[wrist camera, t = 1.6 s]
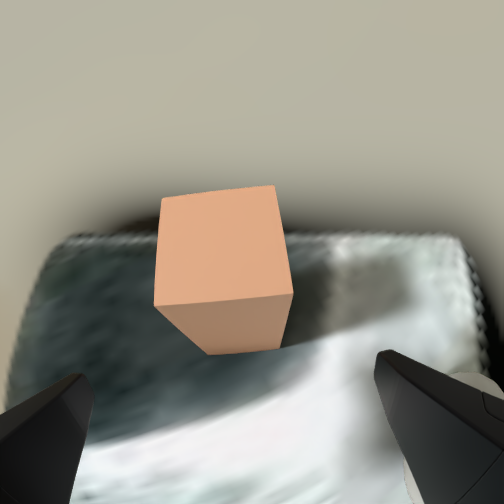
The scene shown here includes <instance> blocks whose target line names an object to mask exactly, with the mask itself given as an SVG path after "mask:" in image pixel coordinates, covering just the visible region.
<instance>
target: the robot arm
mask: <svg viewBox="0 0 504 504" xmlns="http://www.w3.org/2000/svg"><path fill="white" fill-rule="evenodd" d="M374 380H375V383H376V386H377V389H378V392H379V395H380V398H381V401H382V404H383V407H384V410H385V413H386V416H387V419H388V421H389V424H390V426H391V428H392V430H393V433H394V435H395V437H396V439H397V441H398V444H399V446H400V448H401V450H402V452H403V455H404V457H405V459H406V462H407V464H408V466H409V468H410V471H411V473H412V476H413V478H414V480H415V483H416V485H417V487H418V490H419V492H420V495H421V497H422V500H423V502H424V504H504V400H503V399H501V398H498V397H496V396H493V395H491V394H488V393H486V392H484V391H482V392H481V390H479V389H477V388H475V387H472V386H470V385H468V384H465V383H463V382H461V381H459V380H457V379H454V378H452V377H450V376H448V375H445V374H443V373H441V372H439V371H437V370H434V369H432V368H430V367H428V366H426V365H424V364H421V363H419V362H417V361H415V360H413V359H411V358H409V357H406V356H404V355H402V354H400V353H398V352H396V351H394V350H391V349H389V350H385V351H380V352H379V353H378V354H377V357H376V363H375V369H374ZM93 403H94V392H93V390H92V388H91V386H90V384H89V382H88V380H87V378H86V376H85V375H84V374H82V373H71V374H70V375H68V376H66V377H64V378H63V379H61V380H59V381H58V382H56V383H54V384H53V385H51V386H49V387H47V388H46V389H44V390H42V391H41V392H39V393H37V394H35V395H34V396H32V397H30V398H29V399H27V400H25V401H23V402H22V403H20V404H18V405H16V406H15V407H13V408H11V409H10V410H8V411H6V412H4V413H3V414H1V415H0V504H69V502H70V498H71V493H72V489H73V485H74V481H75V477H76V473H77V469H78V465H79V462H80V458H81V454H82V451H83V447H84V444H85V441H86V437H87V432H88V428H89V422H90V417H91V413H92V408H93Z"/></svg>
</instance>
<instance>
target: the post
mask: <svg viewBox="0 0 504 504" xmlns="http://www.w3.org/2000/svg"><path fill="white" fill-rule="evenodd" d="M292 298H293V287H292V280H291V274H290V269H289V263H288V257H287V251H286V245H285V240H284V234H283V229H282V223H281V218H280V212H279V207H278V202H277V196H276V191H275V186H274V185H269V186H258V187H248V188H238V189H230V190H221V191H212V192H205V193H196V194H189V195H182V196H175V197H167V198H162V203H161V213H160V222H159V233H158V244H157V257H156V273H155V293H154V306H155V307H156V308H157V309H158V310H159V311H160V312H161V313H162V314H163V315H164V316H165V317H166V318H167V319H168V320H169V321H171V322H172V323H173V324H174V325H175V326H176V327H177V328H178V329H179V330H180V331H181V332H183V333H184V334H185V335H186V336H187V337H188V338H189V339H191V340H192V341H193V342H194V343H195V344H196V345H197V346H199V347H200V348H201V349H202V350H203V351H204V352H206V353H207V354H208V355H219V354H232V353H244V352H254V351H264V350H273V349H279V348H280V344H281V341H282V337H283V333H284V329H285V325H286V321H287V318H288V314H289V310H290V306H291V302H292Z"/></svg>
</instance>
